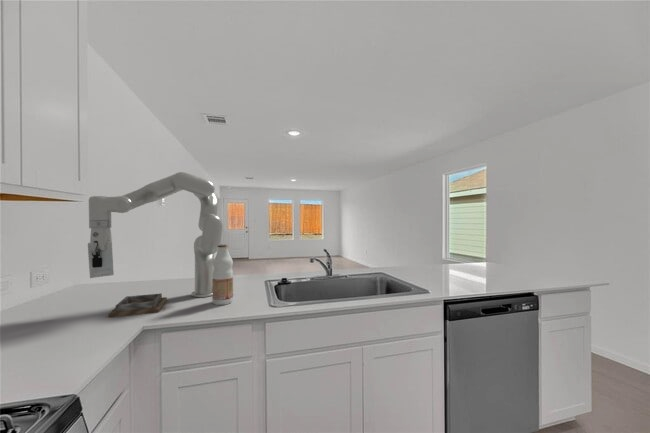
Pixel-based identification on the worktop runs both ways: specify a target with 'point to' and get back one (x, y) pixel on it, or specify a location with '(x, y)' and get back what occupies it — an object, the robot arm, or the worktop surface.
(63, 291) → the worktop surface
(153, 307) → the tray
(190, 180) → the robot arm
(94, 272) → the skincare box
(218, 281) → the fruit juice
